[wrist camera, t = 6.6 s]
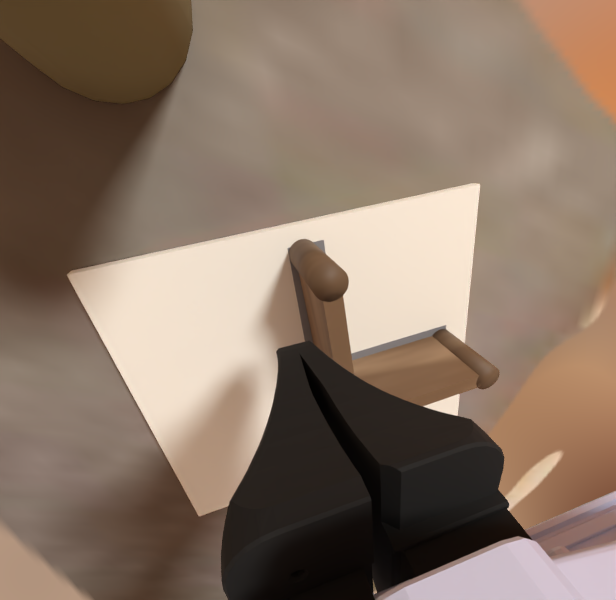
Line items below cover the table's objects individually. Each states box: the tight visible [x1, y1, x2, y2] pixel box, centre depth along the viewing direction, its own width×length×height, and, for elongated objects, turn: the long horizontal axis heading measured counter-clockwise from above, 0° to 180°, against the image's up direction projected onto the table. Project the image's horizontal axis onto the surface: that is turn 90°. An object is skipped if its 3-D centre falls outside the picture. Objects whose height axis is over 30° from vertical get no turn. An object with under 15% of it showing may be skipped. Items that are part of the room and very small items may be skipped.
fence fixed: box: [352, 329, 499, 406], centre depth 17 cm, size 2×9×4 cm, turn 99°
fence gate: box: [289, 239, 354, 374], centre depth 15 cm, size 1×7×4 cm, turn 11°
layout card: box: [67, 183, 480, 517], centre depth 19 cm, size 18×20×1 cm
